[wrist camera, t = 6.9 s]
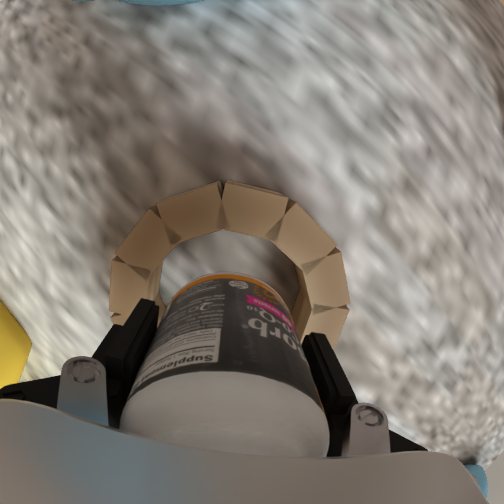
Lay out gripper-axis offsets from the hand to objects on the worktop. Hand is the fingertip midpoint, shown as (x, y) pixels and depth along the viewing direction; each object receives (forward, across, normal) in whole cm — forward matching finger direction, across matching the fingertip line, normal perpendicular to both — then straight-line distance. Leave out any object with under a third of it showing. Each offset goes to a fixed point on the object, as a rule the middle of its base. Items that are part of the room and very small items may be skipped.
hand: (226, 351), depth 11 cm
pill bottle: (+2, 0, 0) cm, 2 cm away
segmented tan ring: (+6, 0, 0) cm, 6 cm away
